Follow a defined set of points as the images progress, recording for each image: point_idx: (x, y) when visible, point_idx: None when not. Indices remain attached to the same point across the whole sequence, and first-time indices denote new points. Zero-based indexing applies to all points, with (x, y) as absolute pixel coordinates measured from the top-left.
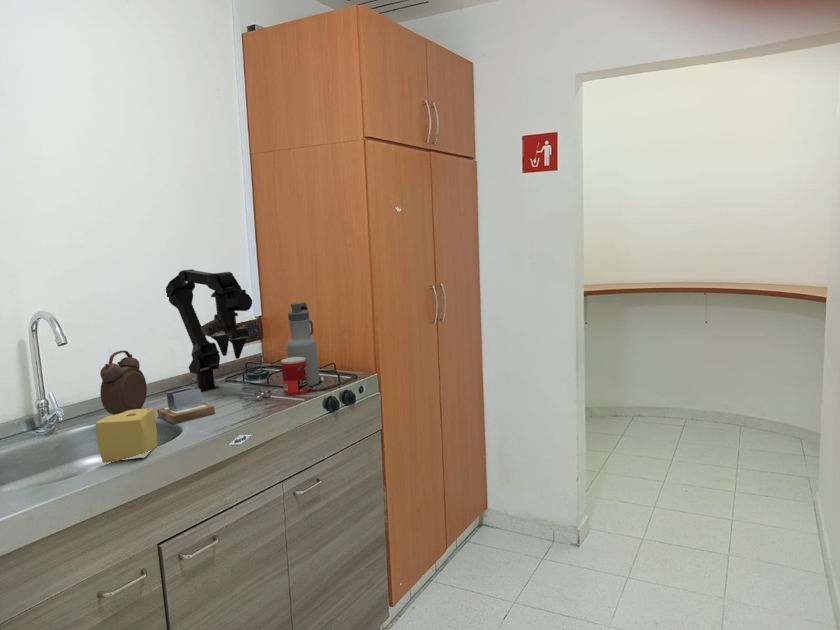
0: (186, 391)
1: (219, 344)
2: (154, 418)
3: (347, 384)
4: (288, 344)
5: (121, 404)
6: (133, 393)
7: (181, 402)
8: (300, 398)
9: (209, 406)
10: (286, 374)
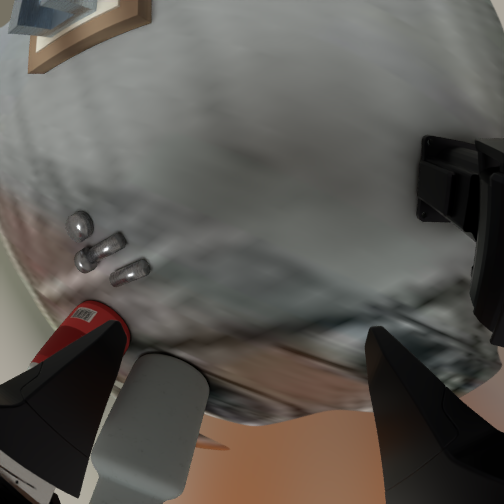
0: None
1: (425, 419)
2: None
3: (112, 392)
4: (117, 466)
5: None
6: None
7: None
8: (50, 294)
9: (35, 60)
10: (52, 338)
